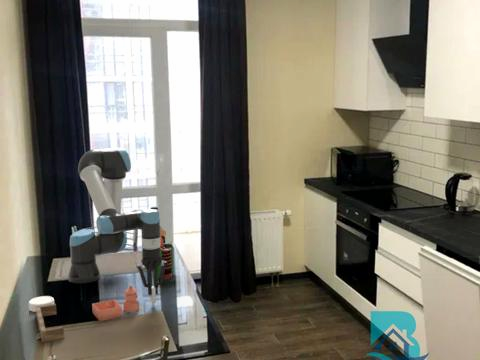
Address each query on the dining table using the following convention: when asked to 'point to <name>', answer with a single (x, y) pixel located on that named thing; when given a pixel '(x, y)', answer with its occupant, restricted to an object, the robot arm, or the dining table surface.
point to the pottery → (116, 306)
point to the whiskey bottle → (162, 232)
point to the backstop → (45, 333)
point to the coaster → (40, 302)
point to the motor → (166, 259)
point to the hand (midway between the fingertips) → (153, 302)
